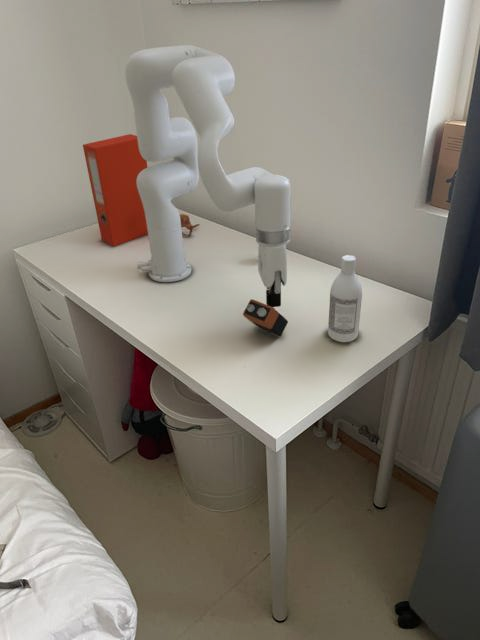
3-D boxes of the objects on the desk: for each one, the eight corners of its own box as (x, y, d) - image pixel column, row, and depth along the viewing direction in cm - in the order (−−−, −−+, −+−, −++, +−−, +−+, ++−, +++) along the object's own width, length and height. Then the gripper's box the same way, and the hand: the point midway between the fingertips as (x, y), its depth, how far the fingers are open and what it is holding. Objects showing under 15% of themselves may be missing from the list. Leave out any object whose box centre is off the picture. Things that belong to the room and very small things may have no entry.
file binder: (156, 231, 177) (143, 137, 159) (114, 246, 167) (95, 148, 150) (143, 225, 182) (129, 133, 164) (101, 240, 172) (82, 144, 155)
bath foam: (337, 323, 122) (342, 248, 111) (363, 333, 118) (371, 255, 107) (322, 336, 118) (326, 259, 107) (348, 346, 114) (355, 267, 103)
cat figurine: (193, 225, 180) (189, 188, 172) (206, 229, 176) (203, 191, 169) (156, 243, 168) (150, 203, 161) (170, 247, 164) (165, 207, 157)
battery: (281, 337, 118) (263, 323, 110) (258, 328, 122) (239, 313, 114) (289, 321, 118) (272, 305, 110) (266, 312, 122) (248, 296, 114)
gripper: (250, 223, 116) (252, 292, 125) (262, 249, 103) (264, 323, 113) (281, 219, 116) (281, 288, 126) (298, 245, 104) (296, 319, 114)
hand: (273, 305), depth 120 cm, fingers closed
